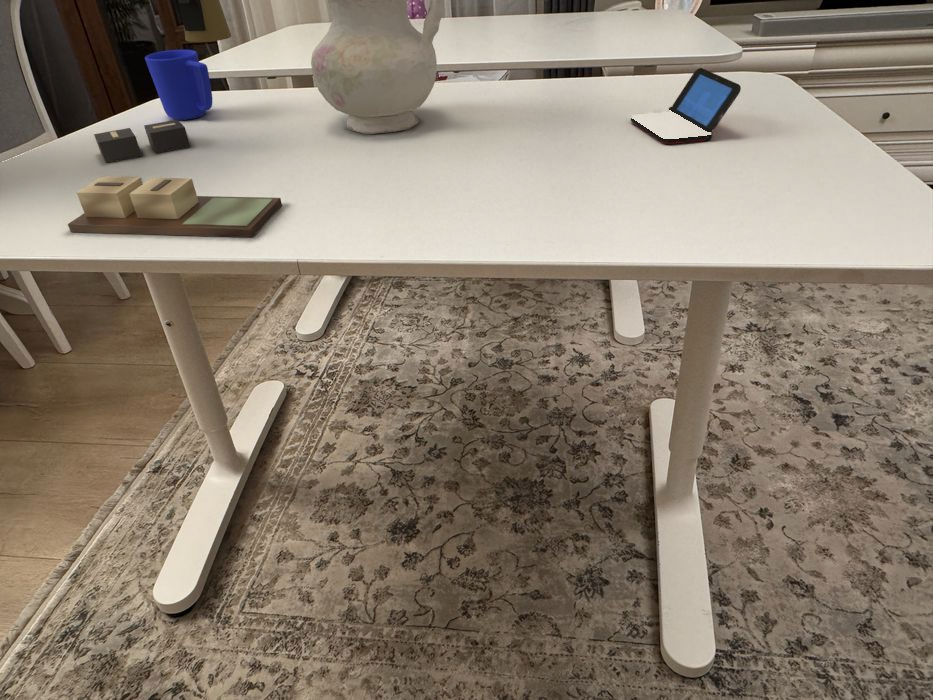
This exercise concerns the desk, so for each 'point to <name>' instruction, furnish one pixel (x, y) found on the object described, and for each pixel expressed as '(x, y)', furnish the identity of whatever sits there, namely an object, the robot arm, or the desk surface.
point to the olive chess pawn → (210, 24)
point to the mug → (181, 83)
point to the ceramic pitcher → (376, 63)
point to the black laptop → (701, 103)
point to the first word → (126, 144)
